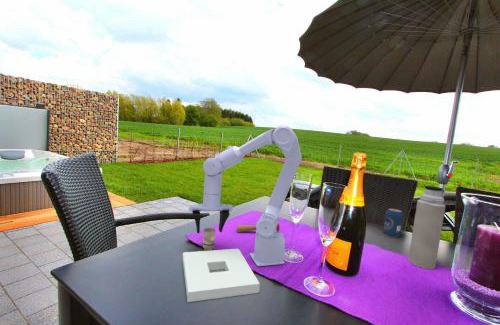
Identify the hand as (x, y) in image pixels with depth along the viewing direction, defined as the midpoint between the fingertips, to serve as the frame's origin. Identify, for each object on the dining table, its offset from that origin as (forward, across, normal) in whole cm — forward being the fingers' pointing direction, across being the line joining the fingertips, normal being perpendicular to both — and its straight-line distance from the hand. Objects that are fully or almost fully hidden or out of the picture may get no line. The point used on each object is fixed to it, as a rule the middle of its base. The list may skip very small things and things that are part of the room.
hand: (209, 231), depth 85 cm
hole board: (+6, 0, +16) cm, 17 cm away
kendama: (+7, -23, -12) cm, 27 cm away
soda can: (+6, -86, -2) cm, 86 cm away
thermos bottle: (+6, -73, +22) cm, 77 cm away
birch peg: (+6, 0, 0) cm, 6 cm away
